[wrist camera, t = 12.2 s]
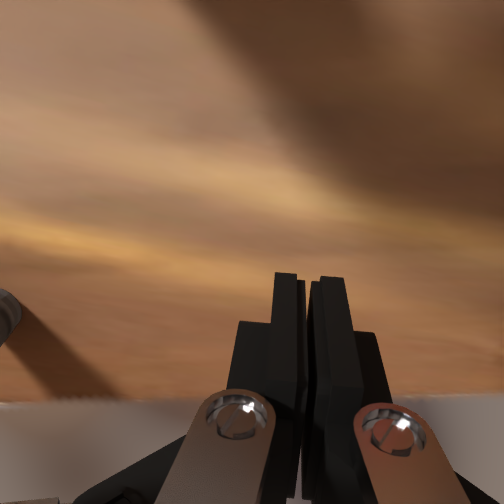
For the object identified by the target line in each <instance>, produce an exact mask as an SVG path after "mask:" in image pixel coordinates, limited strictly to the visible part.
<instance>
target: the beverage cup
mask: <svg viewBox="0 0 504 504" xmlns="http://www.w3.org/2000/svg"><path fill="white" fill-rule="evenodd" d="M21 317H22V310H21V307H20V304H19V303H18V301H17V300H16V298H15V297H14V296H12V295H11V294H10V293H9V292H7V291H5V290H3V289H0V347H1V345H2V344H3V343H4V342H5V341H6V339H7V338H8V337H9V336H10V334H11V333H12V331H13V330H14V328H15V327H16V325H17V324H18V323H19V322H20V320H21Z"/></svg>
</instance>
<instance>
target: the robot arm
mask: <svg viewBox="0 0 504 504" xmlns="http://www.w3.org/2000/svg"><path fill="white" fill-rule="evenodd" d="M300 449H301V462H302V463H301V472H302V499H304V500H311V502H312V504H499V503H498V502H497V501H496V500H494V499H493V498H491V497H490V496H488V495H487V494H485V493H484V492H483V491H482V490H480V489H479V488H477V487H476V486H475V485H473V484H472V483H470V482H469V481H468V480H466V479H465V478H463V477H462V476H461V475H459V474H458V473H456V472H455V471H454V470H453V468H452V467H451V465H450V463H449V461H448V459H447V457H446V455H445V453H444V451H443V450H442V447H441V446H440V444H439V442H438V440H437V438H436V436H435V434H434V433H433V431H432V429H431V428H430V426H429V425H428V424H427V422H426V421H425V420H424V419H422V418H421V417H420V416H419V415H418V414H416V413H415V412H413V411H411V410H409V409H407V408H405V407H402V406H399V405H396V404H393V402H392V398H391V394H390V390H389V386H388V382H387V378H386V374H385V370H384V367H383V363H382V359H381V355H380V351H379V347H378V343H377V339H376V336H375V334H374V333H373V332H362V331H353V326H352V320H351V315H350V309H349V304H348V299H347V293H346V288H345V283H344V278H340V277H328V276H321V277H320V282H319V281H312V282H311V289H310V297H309V306H308V314H307V320H306V292H305V280H297V274H291V273H279V272H275V279H274V291H273V303H272V315H271V323H259V322H248V321H239V325H238V330H237V335H236V340H235V346H234V351H233V356H232V361H231V367H230V372H229V377H228V382H227V388H226V390H222V391H220V392H217V393H214V394H212V395H211V396H210V397H208V398H207V399H205V400H204V402H203V403H202V404H201V406H200V407H199V409H198V411H197V413H196V416H195V418H194V420H193V422H192V424H191V426H190V428H189V430H188V433H187V434H186V435H184V436H183V437H181V438H179V439H177V440H175V441H174V442H172V443H170V444H168V445H167V446H165V447H163V448H161V449H160V450H158V451H156V452H154V453H152V454H150V455H149V456H147V457H145V458H143V459H142V460H140V461H138V462H136V463H135V464H133V465H131V466H129V467H127V468H126V469H124V470H122V471H120V472H118V473H117V474H115V475H113V476H111V477H109V478H108V479H106V480H104V481H102V482H101V483H99V484H97V485H95V486H94V487H92V488H90V489H88V490H87V491H86V492H84V493H83V494H81V495H80V496H79V497H78V498H76V499H75V501H74V502H73V503H64V504H286V498H294V496H295V488H296V480H297V472H298V465H299V456H300ZM0 504H60V501H59V497H56V498H47V499H37V500H28V501H18V502H8V503H0Z"/></svg>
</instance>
